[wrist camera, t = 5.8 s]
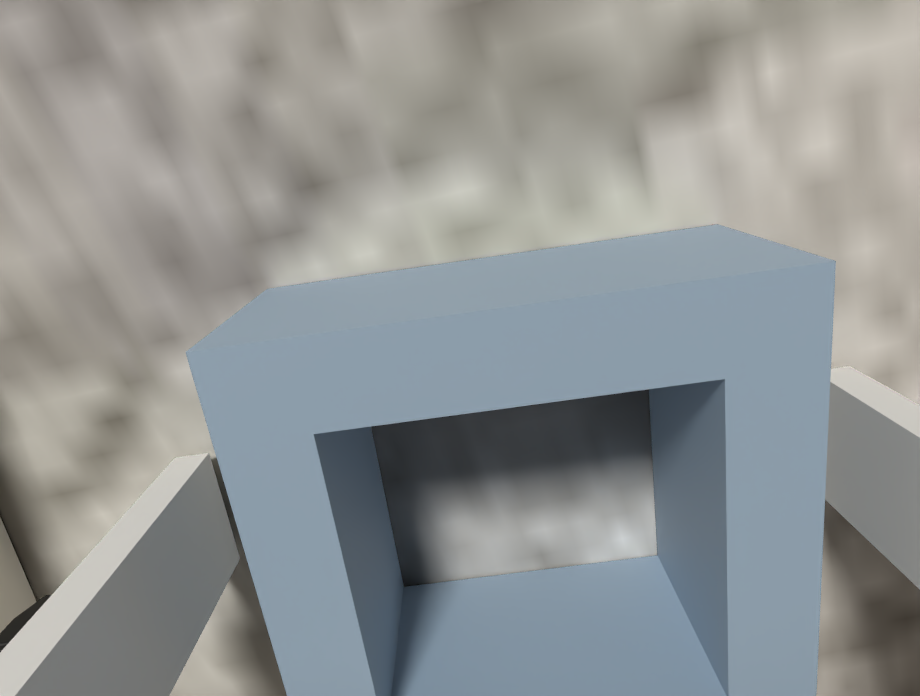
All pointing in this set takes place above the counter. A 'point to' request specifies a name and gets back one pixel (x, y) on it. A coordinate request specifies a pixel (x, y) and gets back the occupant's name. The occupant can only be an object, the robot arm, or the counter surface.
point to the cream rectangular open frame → (12, 582)
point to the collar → (528, 383)
